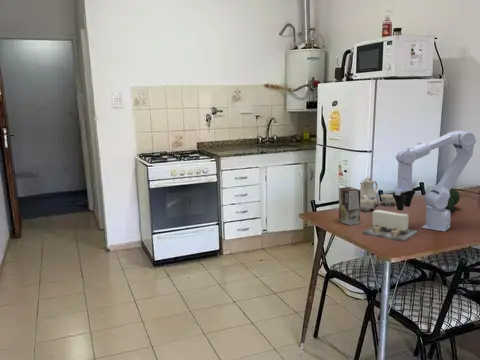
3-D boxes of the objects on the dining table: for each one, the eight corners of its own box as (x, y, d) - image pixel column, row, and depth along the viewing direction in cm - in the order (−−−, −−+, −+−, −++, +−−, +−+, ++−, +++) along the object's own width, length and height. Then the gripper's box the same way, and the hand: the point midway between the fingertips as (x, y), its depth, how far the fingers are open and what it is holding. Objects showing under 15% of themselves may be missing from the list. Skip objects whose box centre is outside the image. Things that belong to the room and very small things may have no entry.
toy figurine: (451, 221, 205) (461, 205, 224) (453, 183, 200) (463, 170, 220) (430, 219, 211) (442, 203, 230) (431, 181, 206) (443, 169, 225)
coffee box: (360, 224, 201) (361, 190, 198) (348, 225, 199) (348, 191, 196) (350, 219, 209) (350, 186, 206) (338, 220, 208) (338, 187, 205)
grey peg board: (417, 233, 185) (417, 222, 184) (403, 241, 175) (404, 230, 174) (377, 225, 197) (377, 216, 196) (362, 233, 187) (362, 223, 186)
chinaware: (369, 217, 217) (373, 185, 213) (342, 208, 230) (345, 178, 225) (399, 207, 235) (403, 177, 230) (373, 199, 247) (376, 171, 243)
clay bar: (408, 228, 182) (408, 214, 181) (404, 230, 179) (404, 216, 178) (376, 222, 191) (376, 209, 190) (372, 224, 189) (372, 211, 188)
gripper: (402, 174, 195) (401, 203, 197) (388, 179, 184) (387, 210, 187) (418, 175, 190) (417, 206, 192) (405, 181, 179) (403, 213, 182)
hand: (403, 208), depth 189 cm, fingers open, 7 cm apart
